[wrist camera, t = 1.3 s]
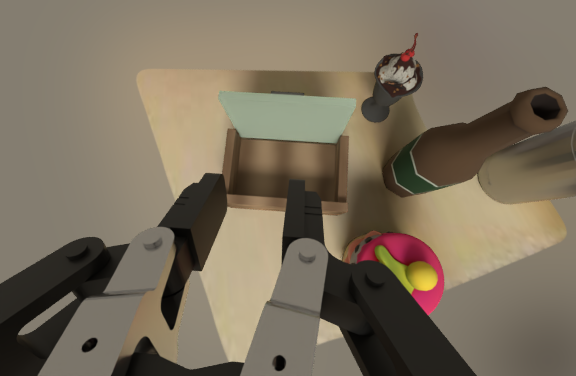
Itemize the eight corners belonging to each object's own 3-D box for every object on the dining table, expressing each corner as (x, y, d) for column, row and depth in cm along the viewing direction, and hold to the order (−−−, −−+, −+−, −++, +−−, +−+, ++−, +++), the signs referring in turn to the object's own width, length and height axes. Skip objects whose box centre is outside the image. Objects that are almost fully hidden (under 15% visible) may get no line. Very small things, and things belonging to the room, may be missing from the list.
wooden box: (339, 151, 43) (350, 133, 35) (337, 215, 41) (347, 211, 33) (238, 144, 43) (225, 125, 35) (230, 207, 41) (216, 202, 34)
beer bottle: (384, 150, 43) (497, 50, 19) (429, 159, 42) (602, 68, 19) (377, 193, 41) (489, 144, 18) (423, 203, 41) (602, 165, 17)
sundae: (381, 86, 45) (424, 15, 30) (400, 117, 44) (455, 59, 29) (349, 102, 44) (378, 37, 30) (368, 133, 43) (407, 82, 28)
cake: (382, 219, 41) (432, 213, 26) (418, 278, 39) (495, 307, 24) (327, 251, 40) (348, 263, 25) (362, 312, 38) (405, 363, 23)
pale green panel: (337, 133, 41) (356, 92, 28) (336, 144, 40) (355, 106, 28) (241, 127, 41) (220, 84, 29) (240, 138, 41) (218, 98, 29)
